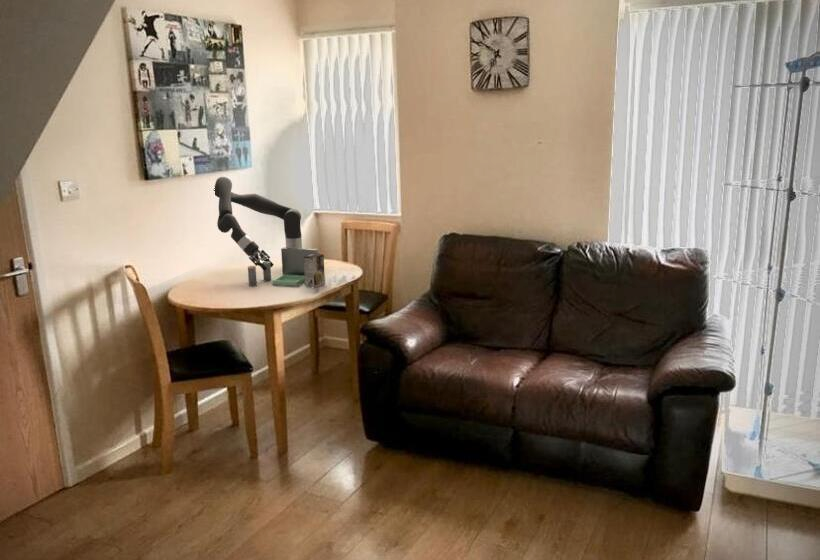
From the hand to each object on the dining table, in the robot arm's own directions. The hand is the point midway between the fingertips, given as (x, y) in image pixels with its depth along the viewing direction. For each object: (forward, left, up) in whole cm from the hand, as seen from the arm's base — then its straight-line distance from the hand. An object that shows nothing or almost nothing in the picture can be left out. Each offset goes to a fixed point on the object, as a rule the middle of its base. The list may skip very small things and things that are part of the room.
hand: (269, 267), depth 358 cm
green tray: (+2, +13, -7) cm, 15 cm away
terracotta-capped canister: (+11, -4, -7) cm, 14 cm away
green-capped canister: (0, -1, -7) cm, 7 cm away
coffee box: (+4, +28, -7) cm, 29 cm away
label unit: (-10, +14, -7) cm, 18 cm away
